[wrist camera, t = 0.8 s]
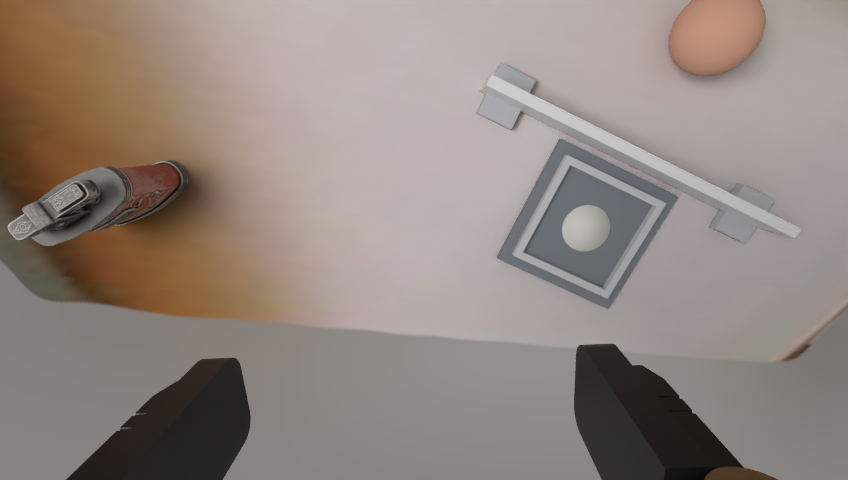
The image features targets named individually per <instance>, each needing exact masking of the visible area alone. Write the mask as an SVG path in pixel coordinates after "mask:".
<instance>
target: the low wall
mask: <svg viewBox="0 0 848 480" xmlns="http://www.w3.org/2000/svg"><path fill="white" fill-rule="evenodd" d="M535 81H536V80H534V79H532V78H530V77H528V76H526V75H524V74H522V73H521V72H519V71H517V70H515V69H513V68H511V67H509V66H507V65H505V64H503V63H500V64H499V67H498V69H497V71H496V73H495V75H492V74H491V75H490V76H489V77H488V78H487V79H486V80H485V81H484V83H483V86H482V88H481V90H480V92H482V93H484V94H485V96H484V98H483V100H482V102H481V105H480V107H479V109H478V111H477V114H479V115H481V116H483V117H485V118H487V119H489V120H491V121H493V122H495V123H497V124H499V125H502V126H504V127H506V128H508V129H512V128H513V125H514V123H515V121H516V119H517V117H518V115H519V113H520V111H521V112H523V113H525V114H527V115H529V116H531V117H533V118H535V119H537V120H539V121H541V122H543V123H545V124H547V125H549V126H551V127H553V128H555V129H557V130H559V131H561V132H563V133H565V134H567V135H569V136H571V137H573V138H575V139H577V140H580V141H582V142H584V143H586V144H588V145H590V146H592V147H594V148H596V149H598V150H600V151H602V152H604V153H606V154H608V155H610V156H612V157H614V158H616V159H618V160H620V161H622V162H624V163H626V164H628V165H630V166H632V167H634V168H636V169H638V170H640V171H642V172H644V173H646V174H648V175H650V176H652V177H654V178H656V179H659V180H661V181H663V182H665V183H667V184H669V185H671V186H673V187H675V188H677V189H679V190H681V191H683V192H685V193H687V194H689V195H691V196H693V197H695V198H697V199H699V200H701V201H703V202H705V203H707V204H709V205H711V206H713V207H715V208H717V209H719V212H718V213H717V215H716V216H715V218H714V219H713V221H712V222H711V224H710V226H709V227H711V228H713V229H715V230H717V231H719V232H721V233H723V234H725V235H727V236H729V237H731V238H733V239H735V240H737V241H740V242H742V243H746V242H747V240H748V239H749V238H750V236H751V235H752V233H753V232H754V230H755V229H756V227H757V228H760V229H764V230H767V231H771V232H774V233H778V234H781V235H785V236H788V237H792V238H796V236H797V235H798V234H799V232H800V231H801V228H799V227H797V226H795V225H793V224H791V223H789V222H787V221H785V220H783V219H781V218H779V217H777V216H775V215H773V214H771V213H769V212H767V211H768V210H769V208H770V207H771V205H772V204H773V202H774V201H775V200H773V199H771V198H769V197H767V196H765V195H763V194H761V193H759V192H757V191H755V190H753V189H751V188H749V187H747V186H745V185H741V184H736V186H735V187H734V189H733V190H732V192H731V193H729V192H727V191H725V190H723V189H721V188H719V187H717V186H715V185H713V184H711V183H709V182H707V181H705V180H703V179H701V178H699V177H697V176H695V175H693V174H691V173H689V172H687V171H685V170H683V169H681V168H679V167H677V166H675V165H673V164H671V163H669V162H667V161H665V160H663V159H661V158H659V157H657V156H655V155H653V154H651V153H649V152H647V151H645V150H643V149H641V148H639V147H637V146H634V145H632V144H630V143H628V142H626V141H624V140H622V139H620V138H618V137H616V136H614V135H612V134H610V133H608V132H606V131H604V130H602V129H600V128H598V127H596V126H594V125H592V124H590V123H588V122H586V121H584V120H582V119H580V118H578V117H576V116H574V115H572V114H570V113H568V112H566V111H564V110H562V109H560V108H558V107H556V106H554V105H552V104H550V103H548V102H546V101H544V100H542V99H540V98H538V97H536V96H534V95H532V94H530V91H531V89H532V87H533V85H534V83H535Z"/></svg>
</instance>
